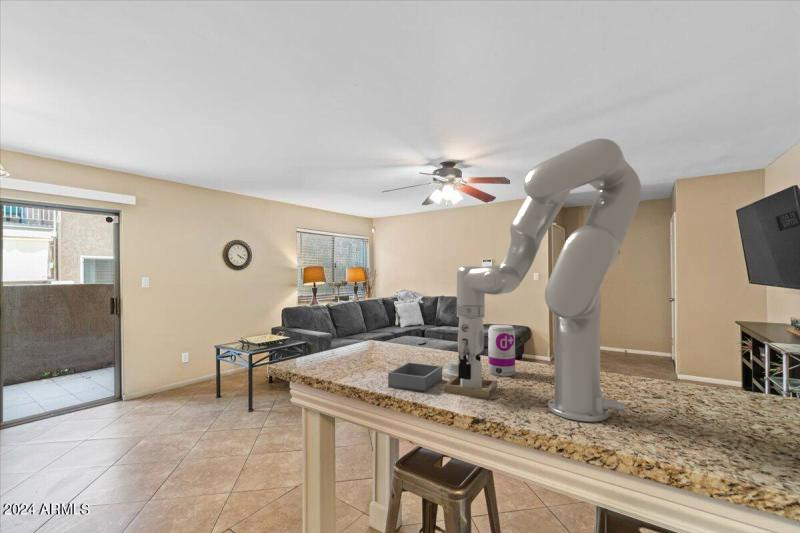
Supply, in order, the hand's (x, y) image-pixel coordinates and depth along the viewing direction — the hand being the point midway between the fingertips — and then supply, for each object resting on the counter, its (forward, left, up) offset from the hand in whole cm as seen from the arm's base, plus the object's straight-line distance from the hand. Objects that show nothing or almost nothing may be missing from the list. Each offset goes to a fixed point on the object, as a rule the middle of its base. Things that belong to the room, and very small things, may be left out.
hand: (469, 374), depth 99 cm
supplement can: (-4, -21, -5) cm, 22 cm away
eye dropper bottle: (0, 0, -5) cm, 5 cm away
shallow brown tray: (0, 0, -4) cm, 4 cm away
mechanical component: (+7, -13, -5) cm, 16 cm away
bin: (+16, +1, -4) cm, 16 cm away
